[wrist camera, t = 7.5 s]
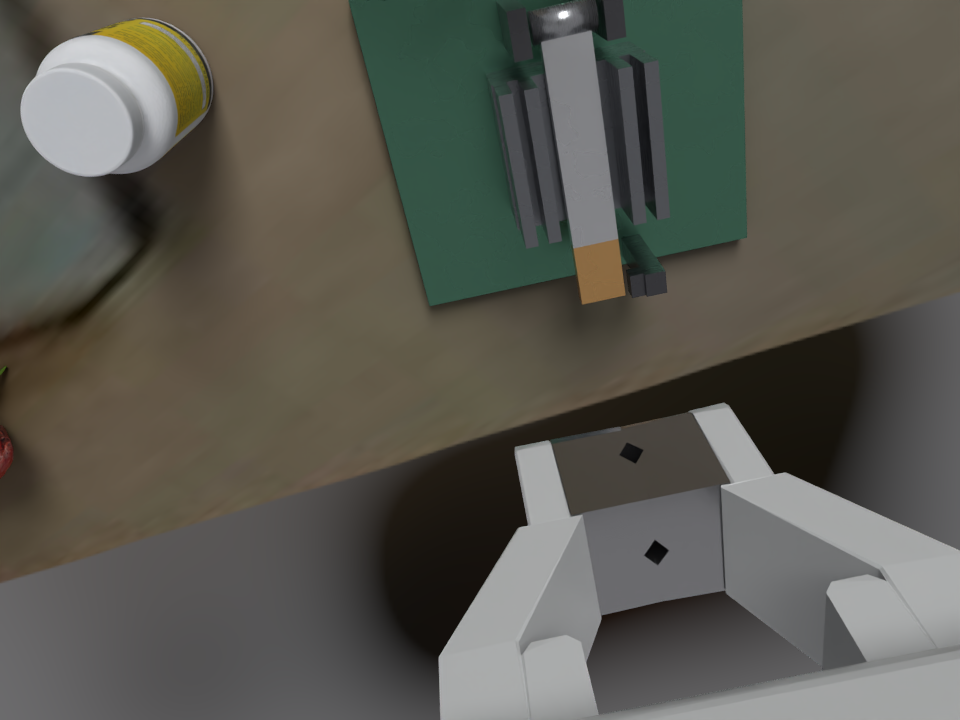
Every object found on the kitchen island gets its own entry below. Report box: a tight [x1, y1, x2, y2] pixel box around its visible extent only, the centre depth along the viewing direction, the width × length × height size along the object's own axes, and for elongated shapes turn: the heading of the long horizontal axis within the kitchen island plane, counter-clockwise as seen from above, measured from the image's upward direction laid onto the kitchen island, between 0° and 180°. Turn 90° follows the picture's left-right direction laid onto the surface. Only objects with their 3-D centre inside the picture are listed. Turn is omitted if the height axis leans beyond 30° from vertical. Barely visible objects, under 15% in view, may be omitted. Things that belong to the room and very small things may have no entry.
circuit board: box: [349, 0, 747, 306], centre depth 36 cm, size 18×16×6 cm
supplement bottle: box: [21, 18, 213, 177], centre depth 32 cm, size 5×5×10 cm
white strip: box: [527, 0, 625, 305], centre depth 35 cm, size 3×14×1 cm, turn 11°
